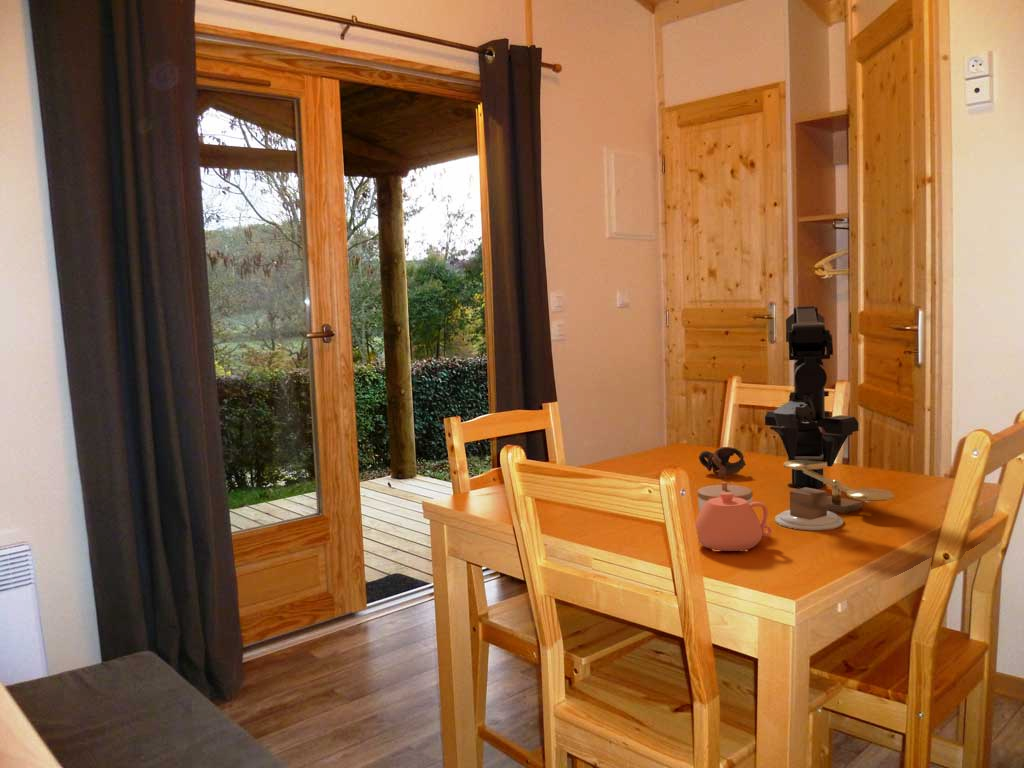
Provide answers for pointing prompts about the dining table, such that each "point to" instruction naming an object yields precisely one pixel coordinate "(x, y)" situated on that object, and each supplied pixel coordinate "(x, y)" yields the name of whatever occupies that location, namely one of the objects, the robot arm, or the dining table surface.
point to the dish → (809, 521)
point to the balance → (839, 488)
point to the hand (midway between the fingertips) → (810, 463)
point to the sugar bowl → (730, 523)
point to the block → (808, 503)
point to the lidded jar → (715, 491)
